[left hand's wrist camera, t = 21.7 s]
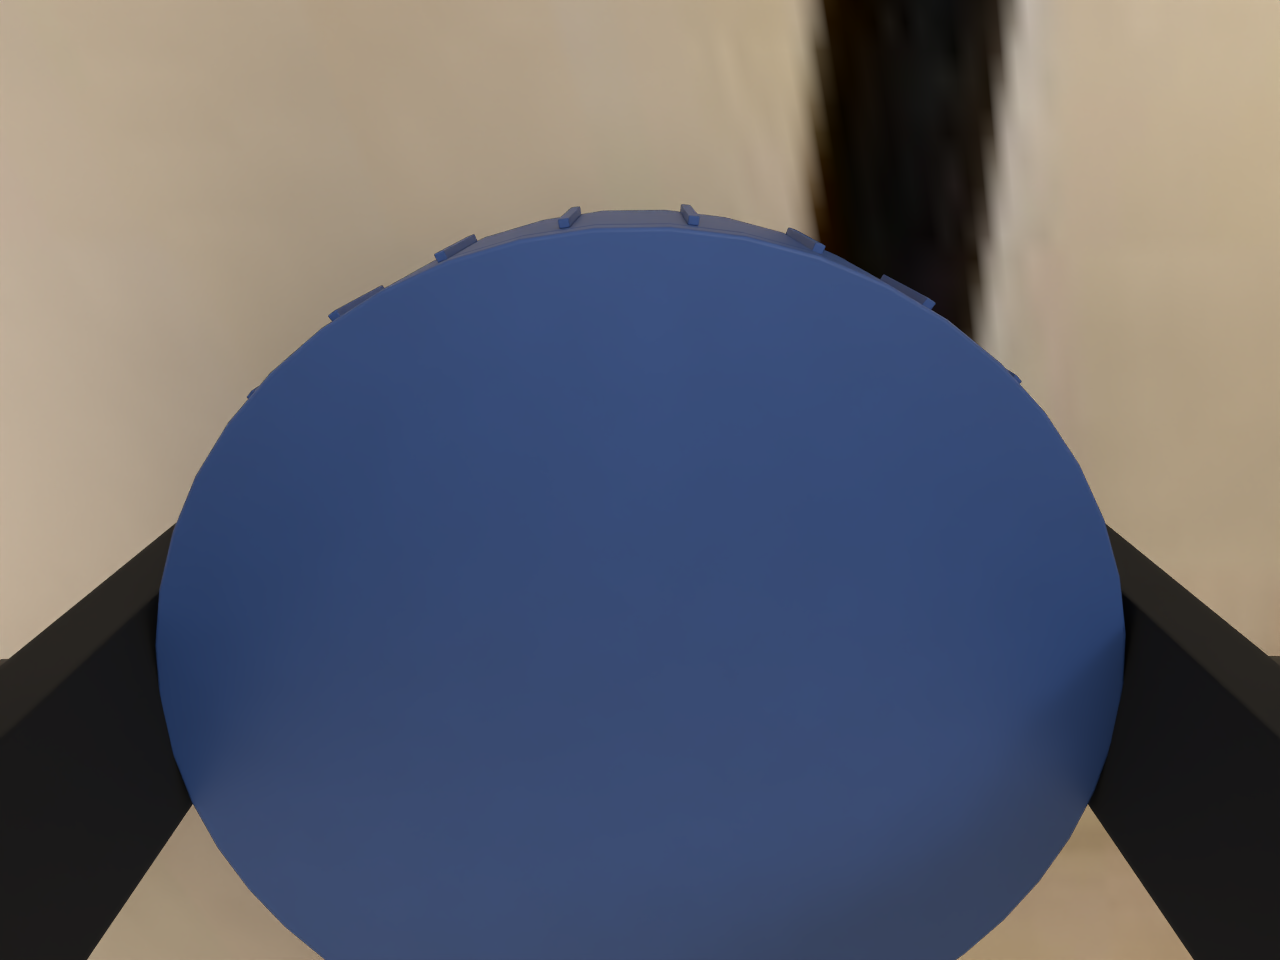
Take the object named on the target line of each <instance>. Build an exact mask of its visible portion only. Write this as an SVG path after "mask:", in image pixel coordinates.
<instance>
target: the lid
mask: <svg viewBox="0 0 1280 960" xmlns="http://www.w3.org/2000/svg"><path fill="white" fill-rule="evenodd" d="M824 249H825V245H823V244H821V243H819V242H817V241H815V240H814V239H812V238H810V237H808V236H806V235H804V234H803V233H801V232H799V231H797V230H795V229H792V228H788V230H787V232H786V234H785V233H782V232H778V231H774V230H771V229H767V228H763V227H759V226H756V225H752V224H748V223H744V222H740V221H737V220H733V219H729V218H725V217H718V216H710V215H702V214H697V213H696V212H695V210H694V209H693V208H692V207H691V206H690V205H684V204H682V205H681V211H680V212H677V211H669V210H626V211H599V212H593V213H586V214H581V210H580V207H573V208H570V209H569V210H568V211H567V212H566V213H565V214H564V215H563V216H561V217H560V218H553V219H547V220H542V221H538V222H535V223H532V224H528V225H525V226H522V227H518V228H515V229H512V230H508V231H505V232H501V233H498V234H495V235H491V236H488V237H485V238H483V239H481V240H479V241H477V239H476V237H475V235H474V234H473V235H471V236H468V237H466V238H464V239H462V240H460V241H458V242H456V243H455V244H453V245H451V246H449V247H447V248H445V249H443V250H441V251H439V252H437V253H436V254H434V256H435V258H436V260H435V261H433V262H431V263H429V264H427V265H425V266H424V267H422V268H420V269H418V270H416V271H415V272H413V273H411V274H409V275H407V276H406V277H404V278H402V279H400V280H398V281H397V282H395V283H393V284H391V285H390V286H388V287H386V288H384V287H383V286H382V285H381V286H379V287H377V288H376V289H374V290H372V291H370V292H368V293H366V294H364V295H363V296H361V297H359V298H357V299H355V300H353V301H351V302H350V303H348V304H346V305H344V306H342V307H340V308H339V309H337V310H335V311H334V312H332V313H331V314H330V315H328V317H329V318H330V319H331V320H332V322H331V323H329V324H328V325H326V326H324V327H323V328H321V329H320V330H319V331H318V332H317V333H316V334H314V335H313V336H312V337H311V338H310V339H309V340H308V341H306V342H305V343H304V344H303V345H302V346H301V347H300V348H298V349H297V350H296V351H295V352H294V353H293V354H292V355H290V356H289V357H288V358H287V359H286V360H285V361H283V362H282V363H281V364H280V365H279V366H278V367H277V368H275V369H274V370H273V371H272V372H271V373H270V374H269V375H268V376H267V377H266V379H265V380H264V381H263V382H262V383H261V385H260V386H258V387H257V388H255V389H253V390H252V391H251V392H250V394H249V395H248V396H247V398H248V400H247V401H246V402H245V403H244V405H243V406H242V407H241V408H240V409H239V411H238V412H237V413H236V414H235V415H234V416H233V418H232V419H231V420H230V421H229V422H228V424H227V426H226V427H225V429H224V430H223V432H222V434H221V435H220V437H219V439H218V440H217V442H216V444H215V445H214V447H213V449H212V450H211V452H210V453H209V455H208V457H207V458H206V460H205V462H204V463H203V465H202V467H201V468H200V470H199V471H198V473H197V475H196V477H195V479H194V481H193V484H192V486H191V489H190V491H189V494H188V496H187V499H186V501H185V503H184V506H183V508H182V511H181V513H180V516H179V518H178V520H177V523H176V525H175V528H174V530H173V533H172V538H171V542H170V546H169V550H168V555H167V559H166V563H165V567H164V572H163V576H162V580H161V584H160V589H159V603H158V616H157V630H156V643H155V647H156V659H157V672H158V684H159V691H160V697H161V702H162V706H163V711H164V715H165V720H166V724H167V729H168V733H169V738H170V742H171V747H172V751H173V755H174V758H175V761H176V763H177V766H178V768H179V771H180V773H181V776H182V778H183V781H184V783H185V786H186V788H187V791H188V794H189V796H190V799H191V801H192V803H193V805H194V807H195V808H196V810H197V812H198V814H199V815H200V817H201V819H202V821H203V823H204V824H205V826H206V828H207V830H208V831H209V833H210V835H211V837H212V839H213V840H214V842H215V844H216V846H217V847H218V849H219V850H220V851H221V853H222V854H223V855H224V857H225V858H226V859H227V861H228V862H229V863H230V865H231V866H232V867H233V869H234V870H235V871H236V873H237V874H238V875H239V877H240V878H241V879H242V881H243V882H244V883H245V885H246V886H247V887H248V889H249V890H250V891H251V892H252V893H253V894H254V895H255V896H256V897H257V898H258V899H259V900H260V901H261V902H262V903H263V904H264V906H265V907H266V908H267V909H268V910H269V911H270V912H271V913H272V914H273V915H274V916H275V917H276V918H277V919H278V920H279V921H280V922H281V923H282V924H283V925H284V926H285V927H286V928H287V929H288V930H289V931H291V932H292V933H293V934H294V935H296V936H297V937H298V938H299V939H300V940H302V941H303V942H304V943H305V944H306V945H308V946H309V947H310V948H311V949H313V950H314V951H315V952H316V953H317V954H319V955H320V956H321V957H322V958H323V959H325V960H956V959H958V958H959V957H961V956H962V955H964V954H965V953H966V952H967V951H968V950H969V949H971V948H972V947H973V946H974V945H975V944H976V943H978V942H979V941H980V940H981V939H982V938H983V937H985V936H986V935H987V934H988V933H989V932H990V931H992V930H993V929H994V928H995V927H996V926H997V925H998V924H1000V923H1001V922H1002V921H1003V920H1004V919H1005V918H1006V917H1007V916H1008V915H1009V914H1010V913H1011V911H1012V910H1013V909H1014V908H1015V907H1016V906H1017V905H1018V904H1019V903H1020V902H1021V901H1022V899H1023V898H1024V897H1025V896H1026V895H1027V894H1028V893H1029V892H1030V891H1031V890H1032V889H1033V887H1034V886H1035V885H1036V884H1037V883H1038V882H1039V881H1040V879H1041V878H1042V877H1043V875H1044V874H1045V872H1046V871H1047V870H1048V868H1049V867H1050V865H1051V864H1052V862H1053V861H1054V860H1055V858H1056V857H1057V855H1058V854H1059V853H1060V851H1061V850H1062V848H1063V847H1064V846H1065V844H1066V843H1067V841H1068V840H1069V839H1070V837H1071V835H1072V833H1073V831H1074V829H1075V827H1076V825H1077V823H1078V821H1079V820H1080V818H1081V816H1082V814H1083V812H1084V810H1085V808H1086V806H1087V804H1088V803H1089V801H1090V799H1091V797H1092V795H1093V793H1094V791H1095V788H1096V785H1097V783H1098V780H1099V777H1100V774H1101V771H1102V769H1103V766H1104V763H1105V760H1106V758H1107V755H1108V751H1109V748H1110V744H1111V739H1112V735H1113V730H1114V725H1115V721H1116V716H1117V711H1118V707H1119V702H1120V698H1121V693H1122V688H1123V678H1124V658H1125V638H1126V632H1125V623H1124V614H1123V604H1122V595H1121V586H1120V577H1119V573H1118V569H1117V565H1116V562H1115V558H1114V554H1113V551H1112V547H1111V543H1110V540H1109V536H1108V532H1107V528H1106V525H1105V521H1104V518H1103V516H1102V514H1101V512H1100V510H1099V507H1098V505H1097V503H1096V501H1095V498H1094V496H1093V494H1092V492H1091V490H1090V487H1089V485H1088V483H1087V481H1086V478H1085V476H1084V474H1083V472H1082V470H1081V467H1080V465H1079V464H1078V462H1077V460H1076V459H1075V457H1074V456H1073V454H1072V453H1071V451H1070V450H1069V448H1068V447H1067V445H1066V444H1065V442H1064V441H1063V439H1062V438H1061V436H1060V435H1059V433H1058V431H1057V430H1056V428H1055V427H1054V425H1053V424H1052V422H1051V421H1050V419H1049V418H1048V416H1047V415H1046V413H1045V412H1044V411H1043V410H1042V408H1041V407H1040V406H1039V405H1038V404H1037V403H1036V402H1035V401H1034V400H1033V398H1032V397H1031V396H1030V395H1029V394H1028V393H1027V392H1026V391H1025V390H1024V389H1023V387H1022V386H1021V385H1020V383H1021V380H1020V379H1019V378H1018V377H1017V375H1015V374H1014V373H1012V372H1010V371H1009V370H1007V369H1005V367H1004V366H1003V365H1002V364H1001V363H1000V362H999V361H997V360H996V359H995V358H994V357H992V356H991V355H990V354H989V353H988V352H986V351H985V350H984V349H983V348H981V347H980V346H979V345H978V344H977V343H975V342H974V341H973V340H972V339H970V338H969V337H968V336H967V335H966V334H964V333H963V332H962V331H961V330H959V329H958V328H957V327H956V326H955V325H953V324H952V323H951V322H950V321H948V320H947V319H945V318H944V317H942V316H940V315H939V314H937V313H935V312H934V311H932V310H931V309H932V308H933V306H934V305H935V302H933V301H932V300H930V299H929V298H927V297H925V296H924V295H922V294H920V293H918V292H916V291H914V290H912V289H910V288H908V287H907V286H905V285H903V284H901V283H899V282H897V281H895V280H893V279H892V278H890V277H888V276H886V275H883V276H882V278H881V279H878V278H876V277H874V276H873V275H871V274H869V273H867V272H866V271H864V270H862V269H860V268H858V267H857V266H855V265H853V264H851V263H849V262H848V261H846V260H844V259H842V258H841V257H839V256H837V255H835V254H832V253H830V252H827V251H825V250H824Z"/></svg>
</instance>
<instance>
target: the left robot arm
mask: <svg viewBox="0 0 1280 960" xmlns="http://www.w3.org/2000/svg"><path fill="white" fill-rule="evenodd" d="M175 525H176V523H175V524H174V525H173V526H172V527H171V528H169V529H168V530H167V531H166V532H164V533H163V534H162V535H161V536H159V537H158V538H157V539H156V540H155V541H153V542H152V543H151V544H150V545H148V546H147V547H146V548H145V549H143V550H142V551H141V552H140V553H139V554H137V555H136V556H135V557H134V558H132V559H131V560H130V561H129V562H127V563H126V564H125V565H124V566H123V567H121V568H120V569H119V570H118V571H116V572H115V573H114V574H113V575H111V576H110V577H109V578H108V579H107V580H105V581H104V582H103V583H102V584H100V585H99V586H98V587H97V588H95V589H94V590H93V591H92V592H91V593H89V594H88V595H87V596H86V597H84V598H83V599H82V600H81V601H79V602H78V603H77V604H76V605H75V606H73V607H72V608H71V609H70V610H68V611H67V612H66V613H65V614H64V615H62V616H61V617H60V618H59V619H57V620H56V621H55V622H54V623H52V624H51V625H50V626H49V627H48V628H46V629H45V630H44V631H43V632H41V633H40V634H39V635H38V636H36V637H35V638H34V639H33V640H32V641H30V642H29V643H28V644H27V645H25V646H24V647H23V648H22V649H20V650H19V651H18V652H17V653H16V654H14V655H13V656H12V657H11V658H9V659H1V660H0V960H87V959H88V957H89V956H90V954H91V953H92V951H93V950H94V948H95V947H96V945H97V944H98V943H99V941H100V940H101V938H102V937H103V935H104V934H105V932H106V931H107V929H108V928H109V926H110V925H111V923H112V922H113V920H114V919H115V918H116V916H117V915H118V913H119V912H120V910H121V909H122V907H123V906H124V904H125V903H126V901H127V900H128V898H129V897H130V895H131V894H132V892H133V891H134V890H135V888H136V887H137V885H138V884H139V882H140V881H141V879H142V878H143V876H144V875H145V873H146V872H147V870H148V869H149V867H150V866H151V865H152V863H153V862H154V860H155V859H156V857H157V856H158V854H159V853H160V851H161V850H162V848H163V847H164V845H165V844H166V842H167V841H168V840H169V838H170V837H171V835H172V834H173V832H174V831H175V829H176V828H177V826H178V825H179V823H180V822H181V820H182V819H183V817H184V816H185V814H186V813H187V812H188V810H189V809H190V807H191V806H192V804H193V803H192V801H191V799H190V796H189V794H188V791H187V788H186V786H185V783H184V781H183V778H182V776H181V773H180V771H179V768H178V766H177V763H176V761H175V758H174V755H173V751H172V747H171V742H170V738H169V733H168V729H167V724H166V720H165V715H164V711H163V706H162V702H161V697H160V691H159V684H158V672H157V659H156V647H155V643H156V630H157V616H158V603H159V589H160V584H161V580H162V576H163V572H164V567H165V563H166V559H167V555H168V550H169V546H170V542H171V538H172V533H173V530H174V528H175ZM1105 525H1106V524H1105ZM1106 528H1107V532H1108V536H1109V540H1110V543H1111V547H1112V551H1113V554H1114V558H1115V562H1116V565H1117V569H1118V573H1119V577H1120V586H1121V595H1122V604H1123V614H1124V623H1125V632H1126V638H1125V658H1124V678H1123V688H1122V693H1121V698H1120V702H1119V707H1118V711H1117V716H1116V721H1115V725H1114V730H1113V735H1112V739H1111V744H1110V748H1109V751H1108V755H1107V758H1106V760H1105V763H1104V766H1103V769H1102V771H1101V774H1100V777H1099V780H1098V783H1097V785H1096V788H1095V791H1094V793H1093V795H1092V797H1091V799H1090V801H1089V803H1088V805H1089V806H1090V808H1091V809H1092V811H1093V812H1094V814H1095V815H1096V817H1097V818H1098V819H1099V821H1100V822H1101V824H1102V825H1103V827H1104V828H1105V830H1106V831H1107V833H1108V834H1109V836H1110V837H1111V839H1112V840H1113V842H1114V843H1115V845H1116V846H1117V847H1118V849H1119V850H1120V852H1121V853H1122V855H1123V856H1124V858H1125V859H1126V861H1127V862H1128V864H1129V865H1130V867H1131V868H1132V870H1133V871H1134V872H1135V874H1136V875H1137V877H1138V878H1139V880H1140V881H1141V883H1142V884H1143V886H1144V887H1145V889H1146V890H1147V892H1148V893H1149V895H1150V896H1151V897H1152V899H1153V900H1154V902H1155V903H1156V905H1157V906H1158V908H1159V909H1160V911H1161V912H1162V914H1163V915H1164V917H1165V918H1166V920H1167V921H1168V922H1169V924H1170V925H1171V927H1172V928H1173V930H1174V931H1175V933H1176V934H1177V936H1178V937H1179V939H1180V940H1181V942H1182V943H1183V945H1184V946H1185V948H1186V949H1187V950H1188V952H1189V953H1190V955H1191V956H1192V958H1193V959H1194V960H1280V656H1268V655H1266V654H1265V653H1264V652H1263V651H1261V650H1260V649H1259V648H1258V647H1257V646H1255V645H1254V644H1253V643H1252V642H1250V641H1249V640H1248V639H1247V638H1245V637H1244V636H1243V635H1242V634H1241V633H1239V632H1238V631H1237V630H1236V629H1234V628H1233V627H1232V626H1231V625H1229V624H1228V623H1227V622H1226V621H1225V620H1223V619H1222V618H1221V617H1220V616H1218V615H1217V614H1216V613H1215V612H1213V611H1212V610H1211V609H1210V608H1209V607H1207V606H1206V605H1205V604H1204V603H1202V602H1201V601H1200V600H1199V599H1197V598H1196V597H1195V596H1194V595H1193V594H1191V593H1190V592H1189V591H1188V590H1186V589H1185V588H1184V587H1183V586H1181V585H1180V584H1179V583H1178V582H1177V581H1175V580H1174V579H1173V578H1172V577H1170V576H1169V575H1168V574H1167V573H1165V572H1164V571H1163V570H1162V569H1161V568H1159V567H1158V566H1157V565H1156V564H1154V563H1153V562H1152V561H1151V560H1149V559H1148V558H1147V557H1146V556H1145V555H1143V554H1142V553H1141V552H1140V551H1138V550H1137V549H1136V548H1135V547H1134V546H1132V545H1131V544H1130V543H1129V542H1127V541H1126V540H1125V539H1124V538H1122V537H1121V536H1120V535H1119V534H1118V533H1116V532H1115V531H1114V530H1113V529H1111V528H1110V527H1109V526H1108V525H1106Z"/></svg>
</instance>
